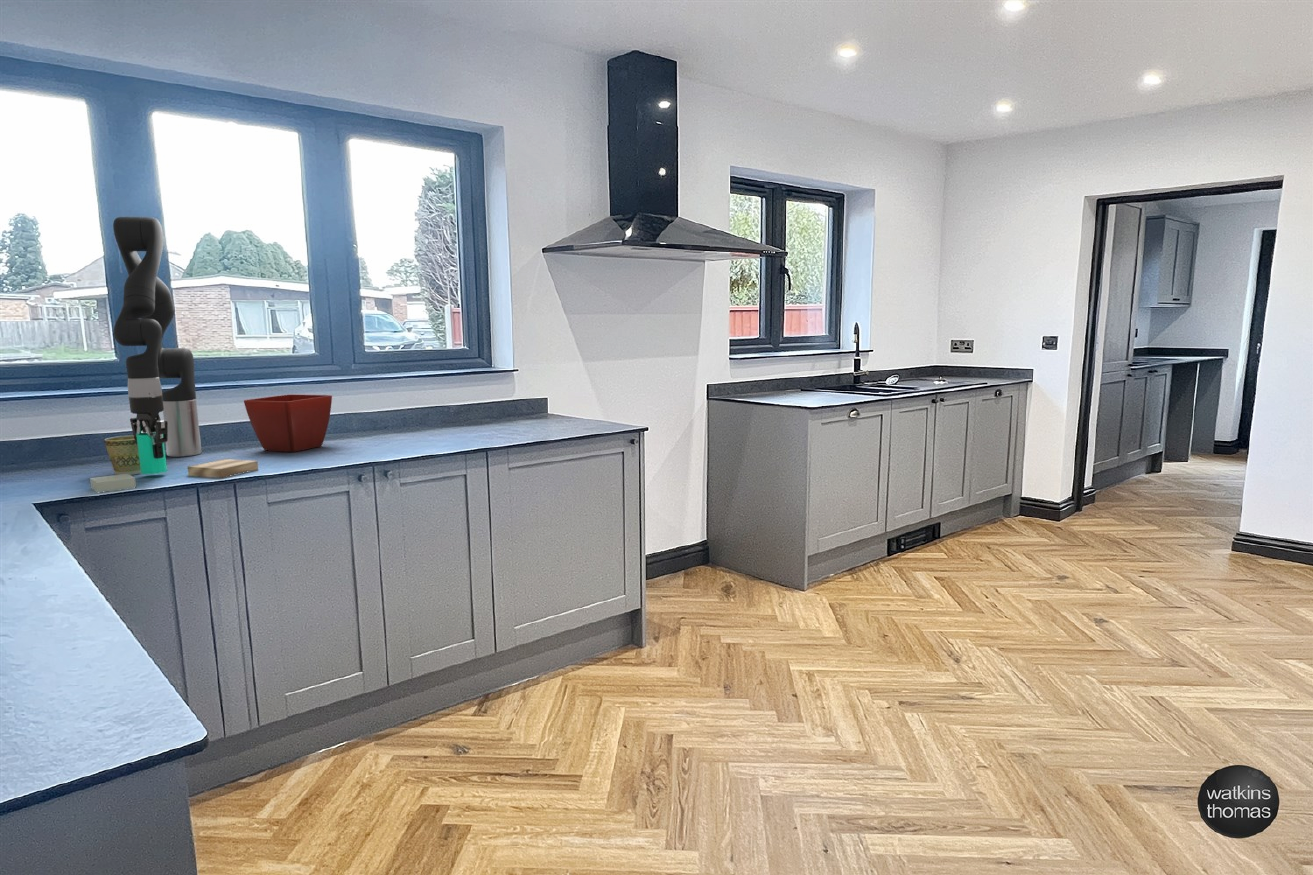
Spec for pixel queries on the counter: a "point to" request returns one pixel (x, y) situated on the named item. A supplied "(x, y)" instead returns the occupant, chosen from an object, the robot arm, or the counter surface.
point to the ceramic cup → (123, 454)
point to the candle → (149, 456)
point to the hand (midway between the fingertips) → (152, 456)
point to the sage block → (112, 482)
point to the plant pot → (290, 421)
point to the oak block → (222, 468)
